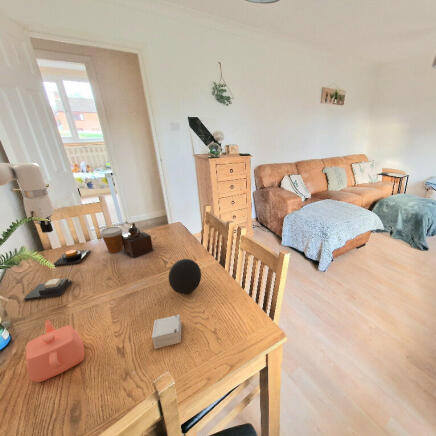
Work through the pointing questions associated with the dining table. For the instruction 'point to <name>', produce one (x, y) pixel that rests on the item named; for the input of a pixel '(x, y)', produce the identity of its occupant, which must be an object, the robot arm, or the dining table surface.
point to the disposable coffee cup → (112, 239)
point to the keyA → (52, 283)
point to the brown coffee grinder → (136, 242)
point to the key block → (72, 258)
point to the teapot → (53, 352)
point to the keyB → (71, 253)
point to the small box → (166, 331)
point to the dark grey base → (48, 291)
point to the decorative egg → (184, 276)
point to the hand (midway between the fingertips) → (47, 231)
